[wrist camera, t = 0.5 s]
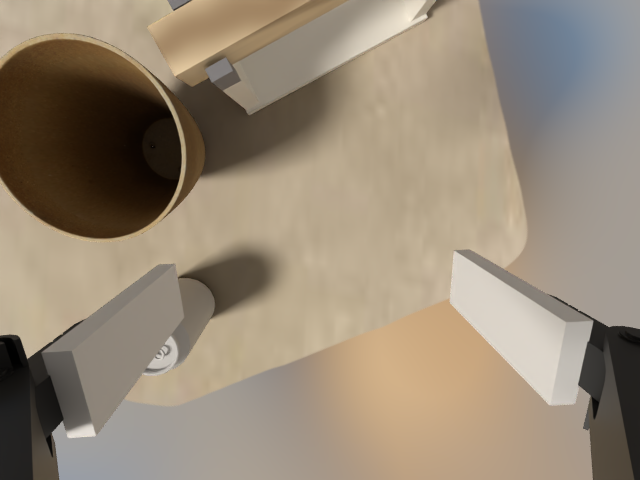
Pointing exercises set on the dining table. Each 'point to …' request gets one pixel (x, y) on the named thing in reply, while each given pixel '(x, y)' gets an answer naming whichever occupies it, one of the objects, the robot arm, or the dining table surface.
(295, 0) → the rail
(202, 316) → the can
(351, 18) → the stand
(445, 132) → the dining table surface
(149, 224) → the plant pot
